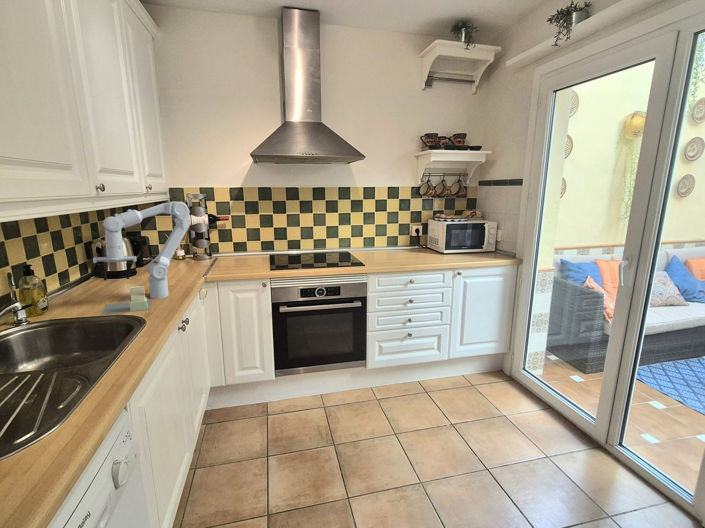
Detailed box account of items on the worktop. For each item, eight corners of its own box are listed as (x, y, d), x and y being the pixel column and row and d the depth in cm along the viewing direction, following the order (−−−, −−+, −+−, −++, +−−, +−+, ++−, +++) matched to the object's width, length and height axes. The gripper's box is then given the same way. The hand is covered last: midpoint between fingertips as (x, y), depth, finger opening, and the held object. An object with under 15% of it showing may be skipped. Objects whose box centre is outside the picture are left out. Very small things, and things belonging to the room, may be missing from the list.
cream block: (132, 299, 137) (131, 287, 136) (145, 297, 139) (144, 285, 139) (131, 302, 134) (130, 289, 133) (144, 300, 136) (143, 288, 135)
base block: (131, 307, 138) (130, 299, 138) (147, 305, 141) (146, 297, 140) (130, 311, 134) (129, 302, 133) (147, 309, 136) (146, 301, 136)
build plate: (106, 305, 142) (106, 304, 141) (151, 300, 149) (151, 299, 149) (101, 317, 129) (101, 315, 129) (150, 311, 136) (150, 309, 136)
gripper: (90, 248, 134) (93, 282, 136) (134, 247, 140) (137, 280, 143) (93, 245, 140) (96, 278, 142) (135, 245, 147) (137, 276, 149)
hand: (116, 279), depth 143 cm, fingers open, 7 cm apart
